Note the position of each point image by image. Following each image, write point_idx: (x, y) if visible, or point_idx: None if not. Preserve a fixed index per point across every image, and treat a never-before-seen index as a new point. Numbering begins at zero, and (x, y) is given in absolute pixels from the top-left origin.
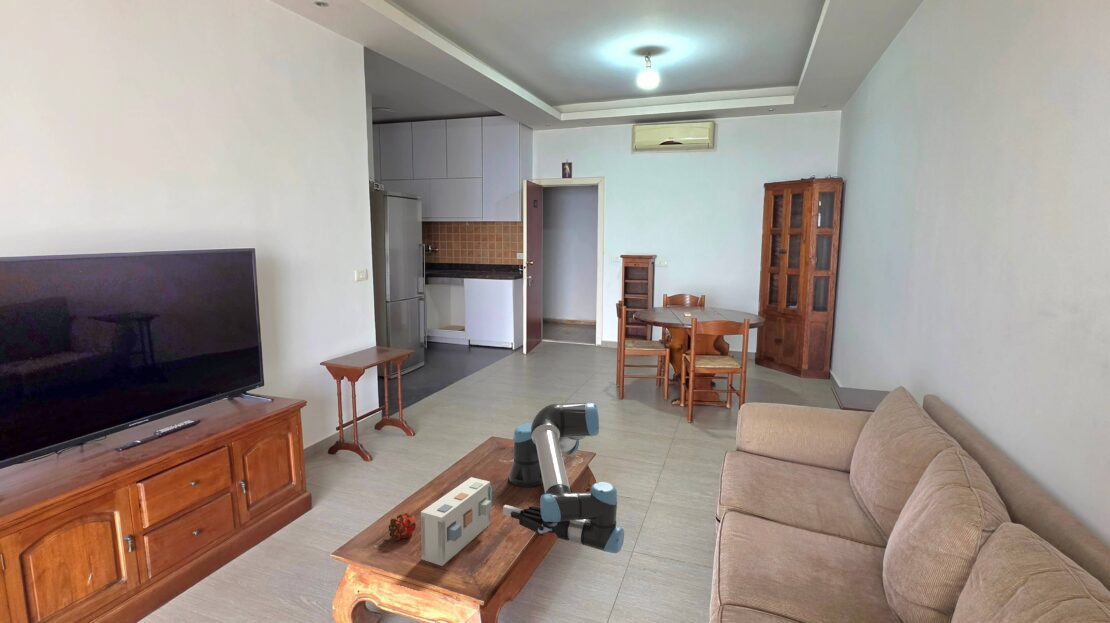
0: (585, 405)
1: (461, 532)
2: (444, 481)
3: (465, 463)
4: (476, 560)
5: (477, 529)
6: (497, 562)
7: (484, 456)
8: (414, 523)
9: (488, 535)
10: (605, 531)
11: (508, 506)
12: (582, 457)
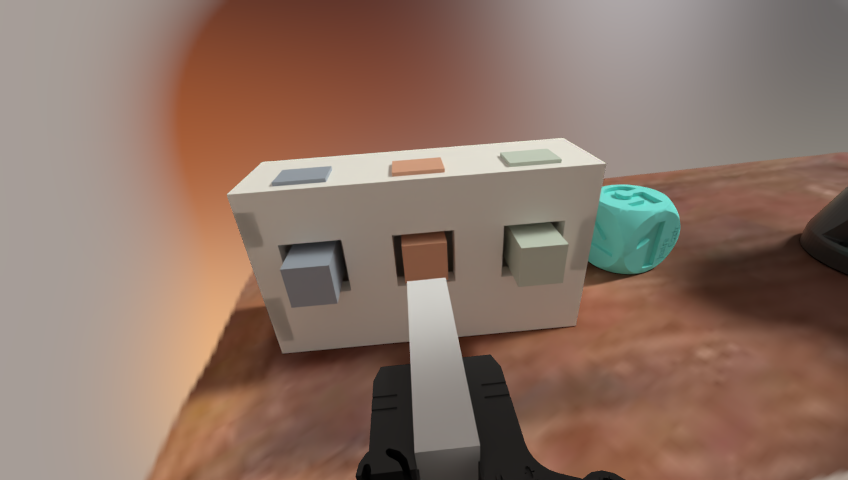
0: None
1: (335, 292)
2: (604, 182)
3: (696, 169)
4: (351, 422)
5: (492, 316)
6: None
7: (766, 170)
8: None
9: (519, 359)
10: None
11: (434, 303)
12: None
